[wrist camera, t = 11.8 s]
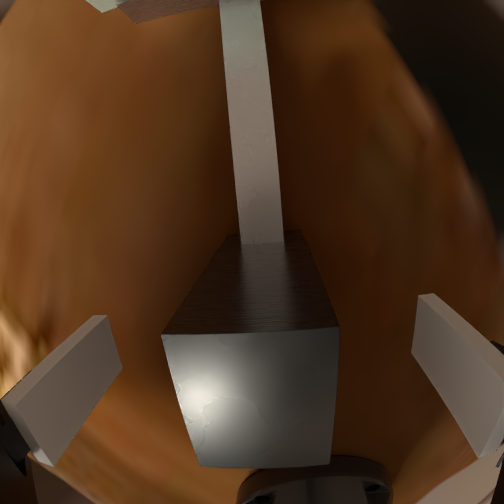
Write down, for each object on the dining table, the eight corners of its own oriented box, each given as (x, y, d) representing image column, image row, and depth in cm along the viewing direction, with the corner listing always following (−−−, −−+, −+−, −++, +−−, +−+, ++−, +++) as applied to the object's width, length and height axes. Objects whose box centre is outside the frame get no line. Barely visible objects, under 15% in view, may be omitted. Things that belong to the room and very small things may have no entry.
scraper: (377, 307, 18) (457, 436, 7) (166, 319, 19) (83, 446, 9) (348, -14, 13) (398, -134, 2) (137, 9, 14) (38, -80, 4)
